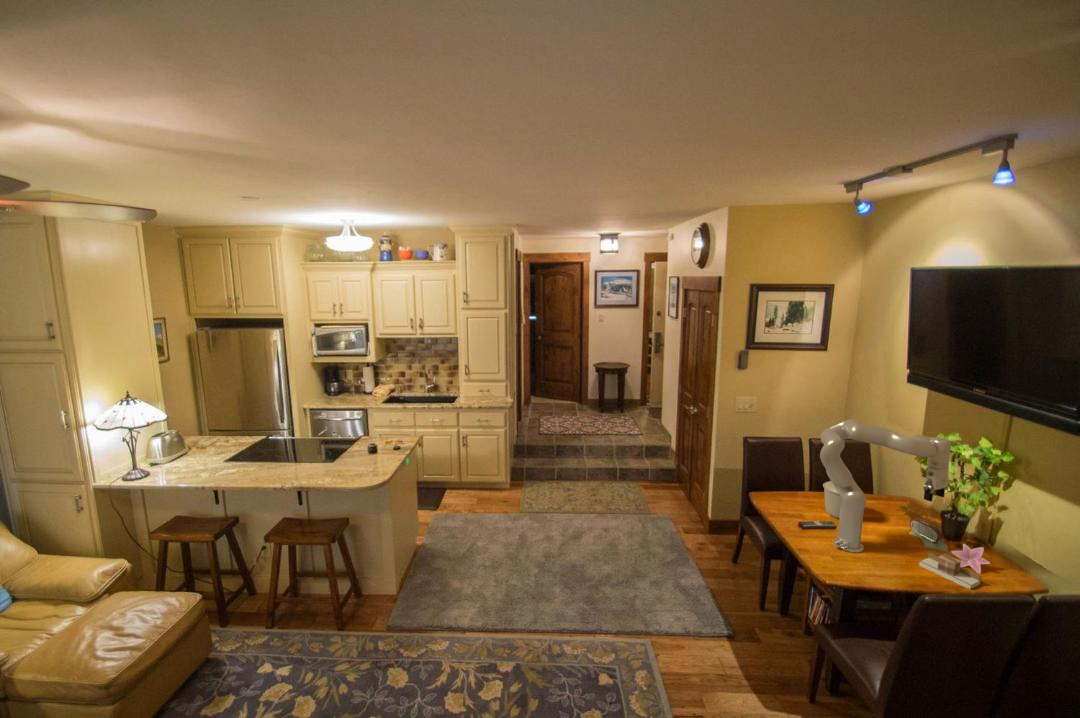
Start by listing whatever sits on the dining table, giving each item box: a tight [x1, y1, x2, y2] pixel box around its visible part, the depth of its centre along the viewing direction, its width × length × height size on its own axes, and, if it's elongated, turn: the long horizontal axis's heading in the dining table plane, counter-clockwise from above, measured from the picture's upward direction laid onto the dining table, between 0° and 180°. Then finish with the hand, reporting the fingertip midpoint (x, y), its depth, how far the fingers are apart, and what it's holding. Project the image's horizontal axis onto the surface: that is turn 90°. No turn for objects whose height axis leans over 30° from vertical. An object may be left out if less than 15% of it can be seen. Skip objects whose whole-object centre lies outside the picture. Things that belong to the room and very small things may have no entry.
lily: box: [950, 543, 991, 575], centre depth 213 cm, size 12×12×10 cm
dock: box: [918, 553, 982, 590], centre depth 207 cm, size 8×19×4 cm, turn 23°
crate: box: [938, 553, 961, 576], centre depth 207 cm, size 5×6×6 cm
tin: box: [909, 517, 944, 543], centre depth 237 cm, size 15×3×8 cm, turn 12°
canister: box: [822, 480, 842, 520], centre depth 260 cm, size 18×18×21 cm
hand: (933, 498), depth 216 cm, fingers open, 9 cm apart
